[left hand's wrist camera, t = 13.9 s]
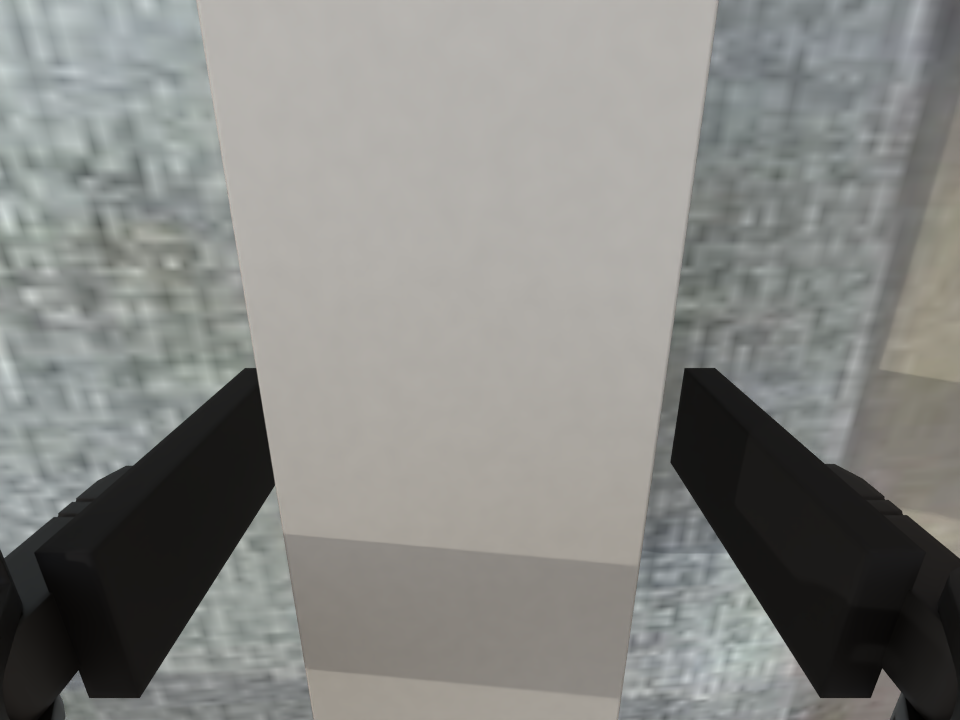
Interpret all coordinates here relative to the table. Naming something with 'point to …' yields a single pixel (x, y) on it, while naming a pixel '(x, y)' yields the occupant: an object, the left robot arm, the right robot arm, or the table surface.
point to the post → (461, 328)
